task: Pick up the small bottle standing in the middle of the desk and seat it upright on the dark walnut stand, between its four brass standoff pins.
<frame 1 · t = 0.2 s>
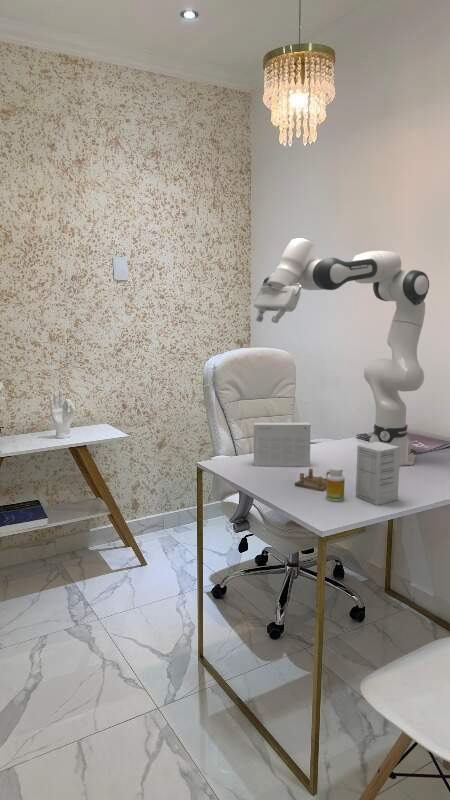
hand: (266, 321, 180), 54 cm above the table, tool tilted 30°, fingers open, 8 cm apart
pin stand: (315, 484, 186), on the table
supplement box: (376, 498, 173), on the table
supplement bottle: (335, 499, 172), on the table
skincare box: (281, 465, 210), on the table
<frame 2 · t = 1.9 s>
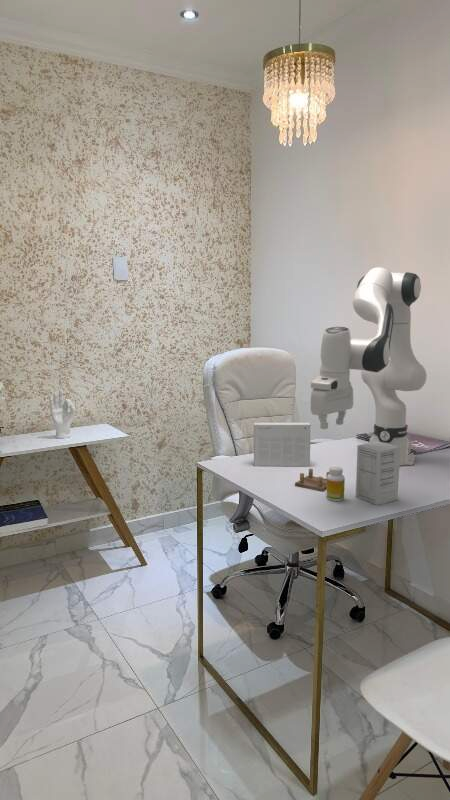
hand: (331, 426, 169), 23 cm above the table, tool pointing down, fingers open, 8 cm apart
nothing on the table moved.
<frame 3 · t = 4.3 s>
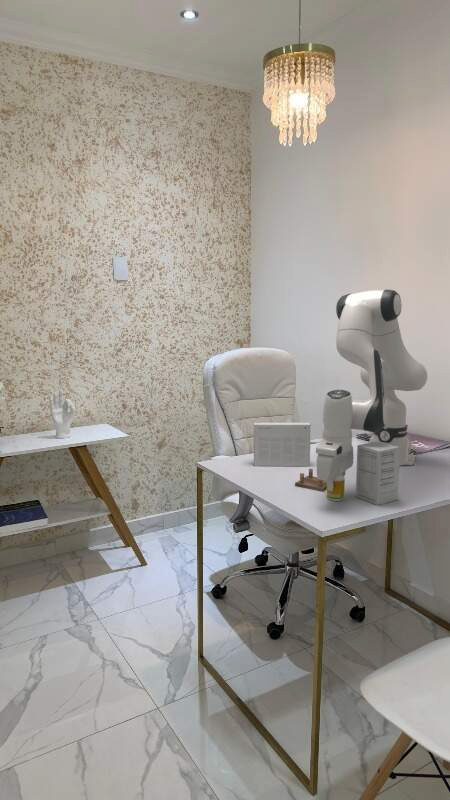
hand: (335, 487, 172), 4 cm above the table, tool pointing down, fingers closed on supplement bottle, 5 cm apart
supplement bottle: (335, 499, 172), on the table, touching gripper
everything else where it was.
when the fingers open (6 cm above the table, at t = 10.6 s): supplement bottle stays where it is, resting on pin stand.
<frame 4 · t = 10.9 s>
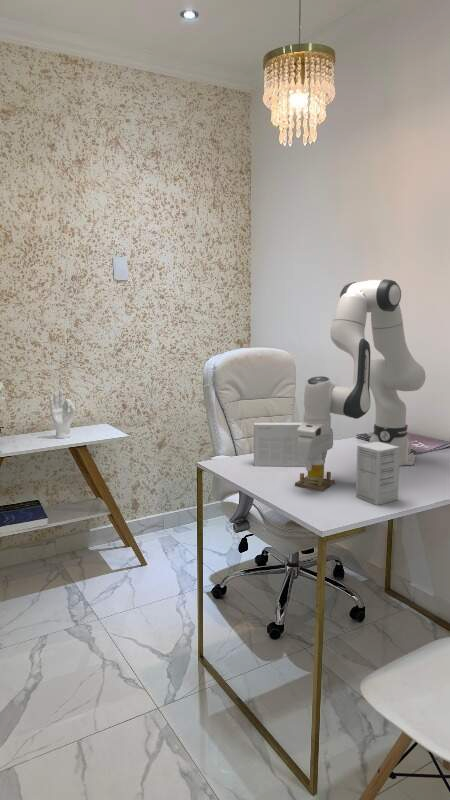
hand: (315, 467, 185), 6 cm above the table, tool pointing down, fingers open, 8 cm apart
supplement bottle: (315, 482, 186), point 1 cm above the table, touching pin stand
everything else where it was.
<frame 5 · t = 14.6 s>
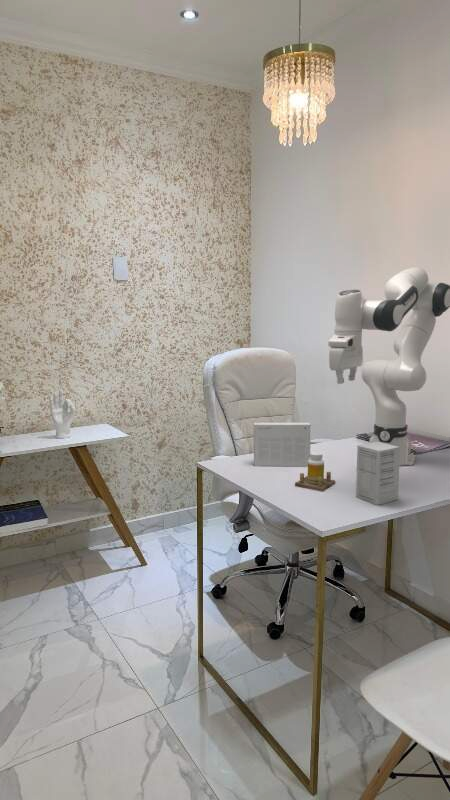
hand: (346, 382, 184), 34 cm above the table, tool pointing down, fingers open, 8 cm apart
nothing on the table moved.
at the end: supplement bottle 0.2 cm off-centre on the pin stand, point 0.8 cm above the pin stand's base; supplement bottle tilted 0°; the gripper is holding nothing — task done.
